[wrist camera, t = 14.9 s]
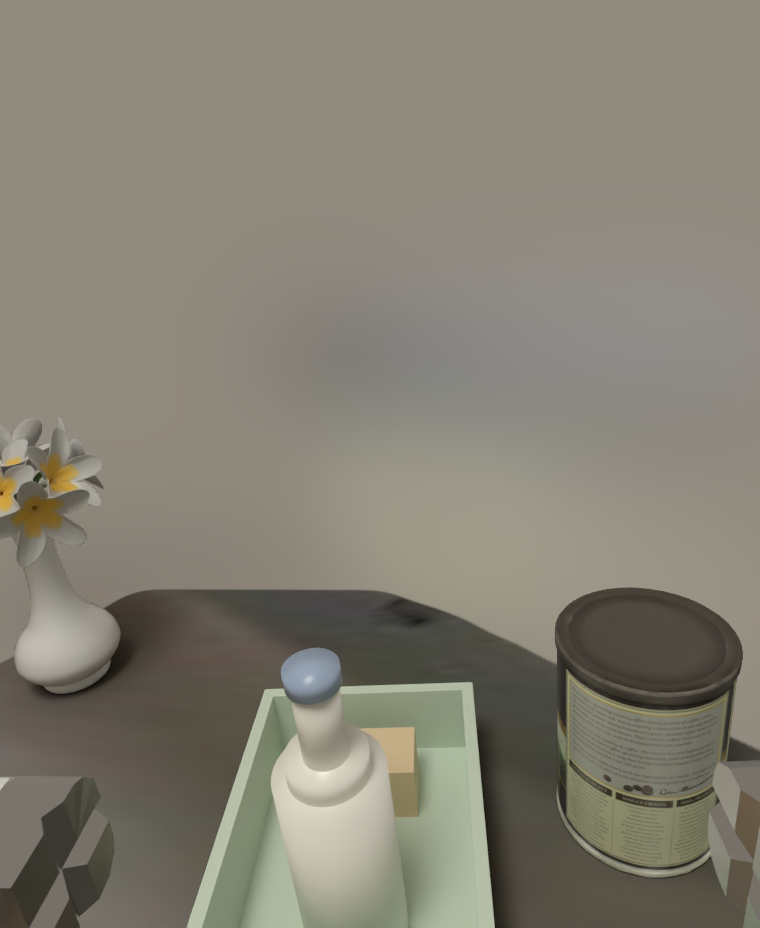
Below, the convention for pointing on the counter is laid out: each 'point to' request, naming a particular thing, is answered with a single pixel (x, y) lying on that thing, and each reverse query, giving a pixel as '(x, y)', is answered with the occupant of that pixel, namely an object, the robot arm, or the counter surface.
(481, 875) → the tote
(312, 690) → the milk bottle
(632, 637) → the coffee can
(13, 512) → the flower vase
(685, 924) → the counter surface
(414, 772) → the butter block
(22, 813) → the robot arm
